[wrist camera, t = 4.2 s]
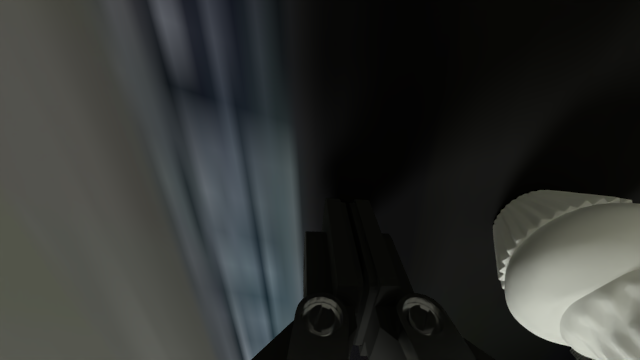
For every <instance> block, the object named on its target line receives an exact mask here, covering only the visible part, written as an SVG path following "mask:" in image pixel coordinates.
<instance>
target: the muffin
mask: <svg viewBox="0 0 640 360" xmlns="http://www.w3.org/2000/svg"><path fill="white" fill-rule="evenodd" d="M493 237H494V246H495V254H496V264H497V272H498V279H499V280H501V285H502V289H505V298H506V302H507V305H508V308H509V310H510V312H511V313H512V315H513V316H514V318H515V319H516V320H517V321H518V322H519V323H520V324H521V325H522V326H524V327H525V328H526V329H528V330H529V331H530V332H532V333H534V334H535V335H537V336H539V337H541V338H543V339H545V340H548V341H551V342H554V343H558V344H561V345H566V346H570V347H571V348H573V349H574V350H575V351H576V352H578V353H580V354H581V355H583V356H586V357H589V358H592V359H595V360H640V204H637V203H632V200H629V199H622V198H618V197H611V196H602V195H593V194H583V193H574V192H565V191H554V190H538V191H531V192H530V193H528V194H526V193H525V194H523V195H522V196H518V197H517V199H515V200H512V201H511V202H510V204H507V205H506V206H505V208H504V209H502V210H501V213H500V214H499V215H497V219H496V220H495V221H494V225H493Z"/></svg>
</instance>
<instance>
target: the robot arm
mask: <svg viewBox="0 0 640 360" xmlns="http://www.w3.org/2000/svg"><path fill="white" fill-rule="evenodd" d="M353 344H354V345H359V351H360V356H368V360H495V359H494V358H492V357H491V356H489V355H488V354H486V353H485V352H483V351H482V350H480V349H479V348H477V347H476V346H475V345H473V344H472V343H470V342H469V341H467V340H466V339H464V338H463V337H462V336H461V334H460V333H459V331H458V330H457V328H456V327H455V325H454V323H453V322H452V320H451V319H450V317H449V316H448V314H447V313H446V311H445V310H444V309H443V308H442V306H441V305H440V304H439V303H437V302H436V301H435V300H434V299H432V298H430V297H428V296H426V295H423V294H419V293H414V291H413V289H412V287H411V284H410V282H409V279H408V277H407V274H406V272H405V270H404V267H403V265H402V262H401V260H400V257H399V255H398V253H397V250H396V248H395V245H394V243H393V240H392V238H391V236H390V235H389V234H381V231H380V228H379V225H378V223H377V220H376V217H375V215H374V212H373V209H372V207H371V204H370V201H369V200H359V199H354V201H353V203H349V204H348V209H347V207H346V204H345V203H342V202H341V200H340V199H334V198H326V199H325V206H324V215H323V224H322V232H305V243H304V298H303V299H302V300H301V302H300V303H299V304H298V307H297V309H296V313H295V318H294V321H293V322H291V323H290V324H289V325H288V326H287V327H286V328H285V329H284V330H283V331H282V332H281V333H280V334H278V335H277V336H276V337H275V338H274V339H273V340H272V341H271V342H270V343H269V344H268V345H267V346H266V347H264V348H263V349H262V350H261V351H260V352H259V353H258V354H257V355H256V356H255V357H254V358H253V359H251V360H349V357H350V354H351V350H352V346H353Z"/></svg>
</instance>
